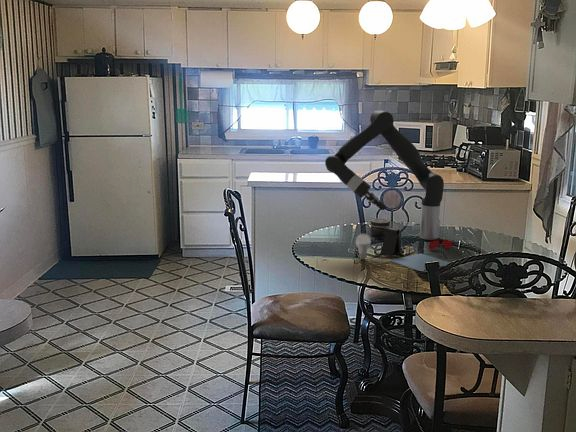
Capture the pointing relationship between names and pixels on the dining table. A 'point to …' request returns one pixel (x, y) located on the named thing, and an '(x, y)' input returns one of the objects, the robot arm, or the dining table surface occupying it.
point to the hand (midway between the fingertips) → (384, 208)
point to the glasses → (445, 243)
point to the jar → (379, 227)
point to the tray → (417, 261)
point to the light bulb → (363, 245)
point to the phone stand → (391, 242)
